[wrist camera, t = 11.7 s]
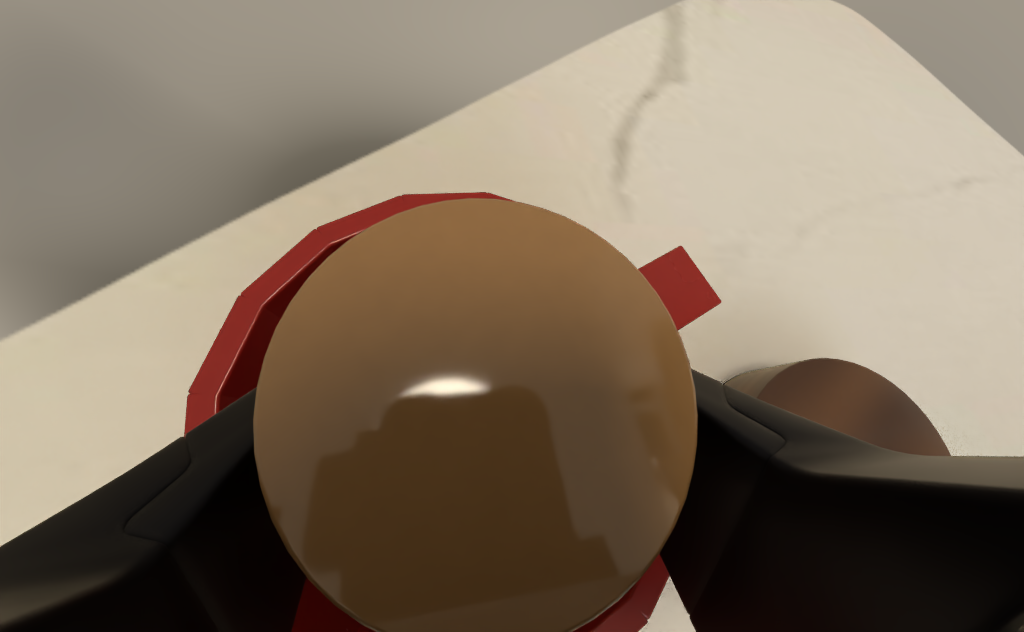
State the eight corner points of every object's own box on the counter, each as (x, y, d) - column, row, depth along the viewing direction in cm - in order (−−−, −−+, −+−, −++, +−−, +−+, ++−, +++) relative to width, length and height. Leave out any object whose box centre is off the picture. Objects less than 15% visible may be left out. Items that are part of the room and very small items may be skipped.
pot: (683, 439, 19) (845, 442, 11) (320, 714, 14) (164, 1066, 6) (548, 229, 21) (606, 114, 14) (189, 398, 16) (-46, 365, 8)
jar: (584, 382, 13) (748, 319, 6) (500, 557, 11) (599, 769, 4) (436, 295, 13) (428, 132, 6) (327, 455, 11) (124, 488, 4)
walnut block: (921, 513, 20) (1014, 528, 17) (788, 660, 17) (872, 715, 14) (790, 335, 22) (851, 317, 19) (648, 438, 19) (692, 439, 16)
